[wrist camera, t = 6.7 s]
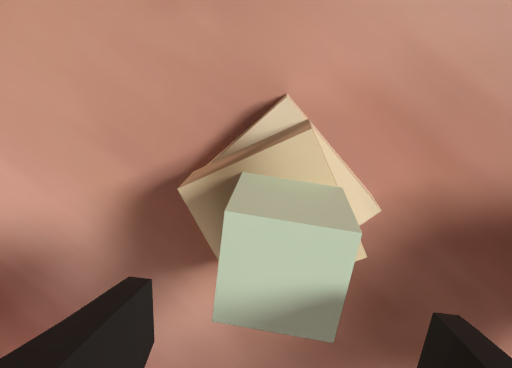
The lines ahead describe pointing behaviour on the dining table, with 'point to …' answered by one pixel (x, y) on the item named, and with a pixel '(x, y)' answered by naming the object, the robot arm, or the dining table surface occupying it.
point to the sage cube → (285, 257)
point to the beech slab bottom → (290, 115)
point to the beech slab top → (257, 162)
